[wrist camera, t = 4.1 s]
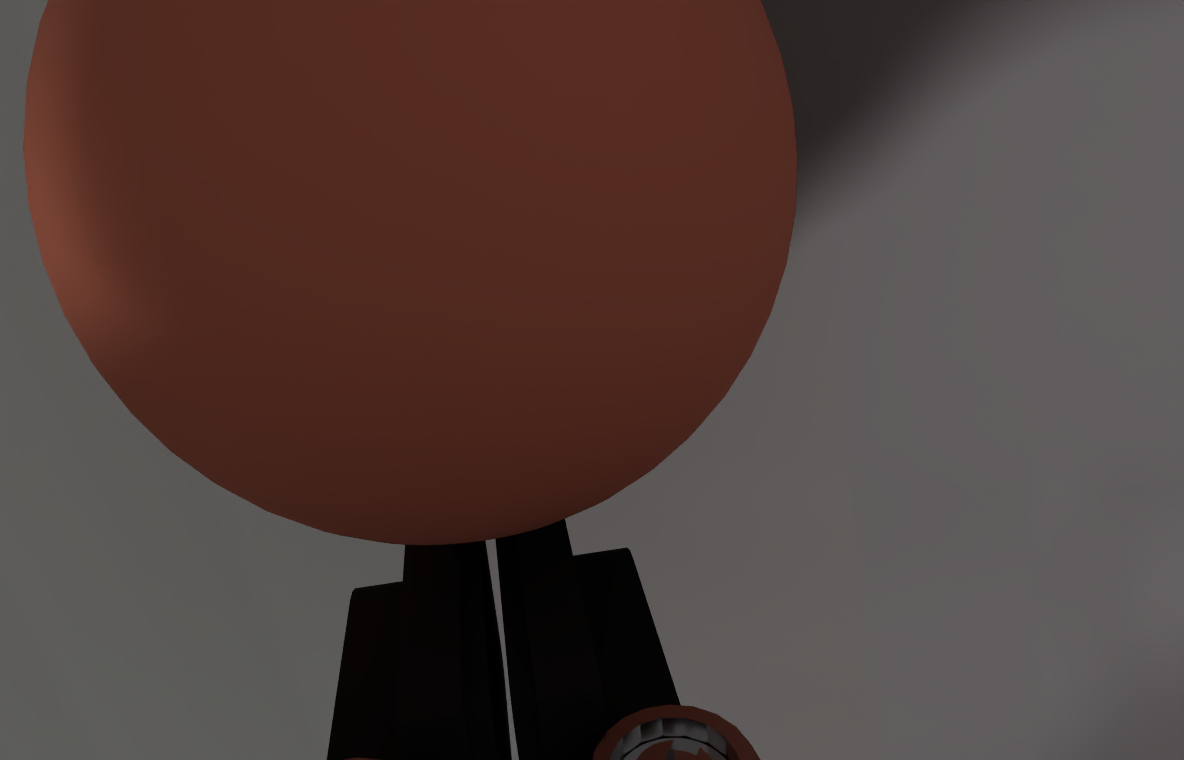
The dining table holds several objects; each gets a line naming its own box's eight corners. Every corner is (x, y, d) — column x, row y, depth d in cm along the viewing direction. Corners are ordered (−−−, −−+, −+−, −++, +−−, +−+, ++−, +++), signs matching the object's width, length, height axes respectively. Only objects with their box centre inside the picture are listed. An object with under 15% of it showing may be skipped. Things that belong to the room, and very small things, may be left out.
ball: (-49, 782, 5) (-340, -583, 4) (183, 478, 10) (100, -76, 9) (966, 599, 6) (979, -426, 5) (672, 420, 12) (648, -69, 11)
